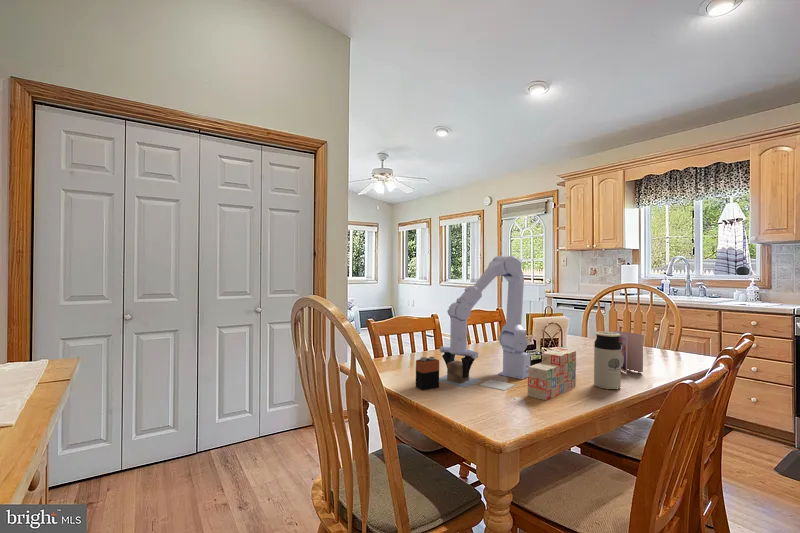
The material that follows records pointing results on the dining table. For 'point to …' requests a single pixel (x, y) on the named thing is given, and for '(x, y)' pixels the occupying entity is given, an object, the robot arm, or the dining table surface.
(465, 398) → the dining table surface
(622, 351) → the greeting card
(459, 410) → the dining table surface
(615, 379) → the travel mug
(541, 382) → the stack of blocks
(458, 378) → the walnut block
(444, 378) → the blue-gray square plate
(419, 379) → the battery
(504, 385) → the rubber mat
